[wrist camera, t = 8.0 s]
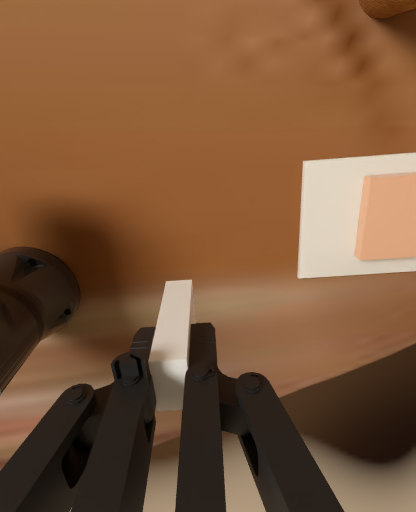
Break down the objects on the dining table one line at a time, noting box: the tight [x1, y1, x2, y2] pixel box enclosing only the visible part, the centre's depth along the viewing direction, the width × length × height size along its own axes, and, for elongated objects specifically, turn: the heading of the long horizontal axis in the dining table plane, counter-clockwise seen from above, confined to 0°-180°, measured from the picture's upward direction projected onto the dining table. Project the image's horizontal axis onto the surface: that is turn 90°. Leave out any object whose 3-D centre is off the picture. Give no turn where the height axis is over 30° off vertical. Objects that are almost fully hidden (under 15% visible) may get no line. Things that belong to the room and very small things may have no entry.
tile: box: [354, 172, 416, 261], centre depth 44 cm, size 2×12×12 cm
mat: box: [298, 152, 416, 278], centre depth 45 cm, size 22×18×1 cm
